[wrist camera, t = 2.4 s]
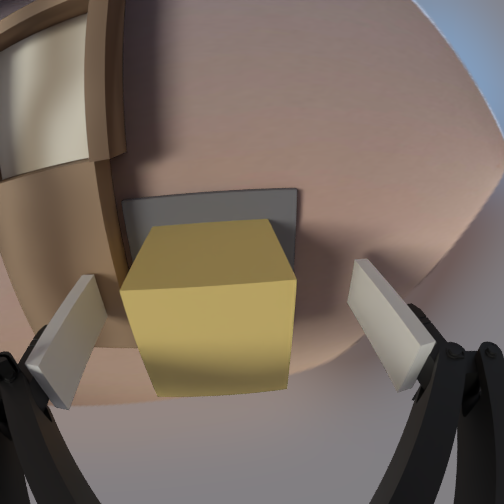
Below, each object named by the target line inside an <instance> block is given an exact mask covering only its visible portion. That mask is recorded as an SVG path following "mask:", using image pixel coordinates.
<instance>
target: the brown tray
mask: <svg viewBox="0 0 504 504" xmlns="http://www.w3.org/2000/svg"><path fill="white" fill-rule="evenodd" d="M125 1H126V0H36V1H34V2H32V3H30V4H28V5H26V6H24V7H23V8H21V9H19V10H17V11H15V12H14V13H12V14H10V15H9V16H7V17H5V18H4V19H2V20H0V253H1V256H2V259H3V262H4V265H5V267H6V270H7V273H8V276H9V278H10V281H11V283H12V286H13V288H14V291H15V293H16V296H17V298H18V300H19V303H20V305H21V307H22V309H23V311H24V314H25V316H26V318H27V320H28V322H29V324H30V326H31V328H32V330H33V332H34V334H35V335H36V334H37V332H38V331H39V330H40V329H41V328H42V327H43V326H44V325H48V324H49V322H50V321H51V319H52V318H53V316H54V315H55V313H56V312H57V310H58V309H59V307H60V306H61V304H62V303H63V301H64V300H65V298H66V297H67V295H68V294H69V293H70V291H71V290H72V288H73V287H74V286H75V284H76V283H77V281H78V280H79V279H80V277H81V276H82V275H93V274H94V276H95V279H96V283H97V286H98V289H99V292H100V295H101V298H102V301H103V304H104V307H105V310H106V313H107V316H108V317H107V319H106V321H105V323H104V325H103V328H102V330H101V332H100V334H99V336H98V339H97V341H96V343H95V345H94V347H104V348H138V346H137V344H136V341H135V338H134V335H133V332H132V329H131V326H130V323H129V320H128V317H127V314H126V311H125V308H124V305H123V301H122V298H121V295H120V289H121V286H122V284H123V282H124V280H125V278H126V276H127V274H128V272H129V268H128V263H127V259H126V255H125V250H124V245H123V241H122V236H121V231H120V225H119V220H118V214H117V208H116V202H115V196H114V189H113V182H112V175H111V167H110V158H113V157H115V156H118V155H120V154H122V153H125V152H127V149H126V138H125V124H124V107H123V29H124V13H125ZM85 158H88V159H85ZM80 159H83V160H80ZM75 160H78V161H75ZM71 161H74V162H71ZM66 162H69V163H66ZM62 163H65V164H62ZM57 164H60V165H57ZM53 165H56V166H53ZM49 166H52V167H49ZM45 167H48V168H45ZM41 168H44V169H41ZM37 169H40V170H37ZM34 170H36V171H34ZM30 171H32V172H30ZM26 172H28V173H26ZM23 173H25V174H23ZM19 174H21V175H19ZM16 175H18V176H16ZM12 176H14V177H12ZM9 177H11V178H9ZM6 178H8V179H6ZM3 179H5V180H3Z"/></svg>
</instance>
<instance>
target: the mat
mask: <svg viewBox="0 0 504 504" xmlns="http://www.w3.org/2000/svg"><path fill="white" fill-rule="evenodd" d="M296 208H297V189H296V188H272V189H248V190H229V191H213V192H199V193H186V194H174V195H164V196H153V197H144V198H135V199H126V200H123V201H122V209H123V215H124V220H125V226H126V231H127V237H128V242H129V247H130V251H131V256H132V261H133V262H134V260H135V258H136V256H137V255H138V253H139V251H140V249H141V247H142V245H143V243H144V241H145V239H146V238H147V236H148V234H149V232H150V230H151V228H152V227H154V226H166V225H179V224H192V223H206V222H221V221H237V220H254V219H268V220H269V222H270V224H271V226H272V228H273V230H274V232H275V234H276V236H277V239H278V241H279V243H280V245H281V247H282V249H283V251H284V253H285V255H286V257H287V260H288V262H289V264H290V266H291V268H292V270H293V272H294V256H295V235H296Z"/></svg>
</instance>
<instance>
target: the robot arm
mask: <svg viewBox="0 0 504 504" xmlns="http://www.w3.org/2000/svg"><path fill="white" fill-rule="evenodd" d="M347 303H348V305H349V307H350V308H351V310H352V312H353V313H354V315H355V317H356V318H357V320H358V322H359V324H360V325H361V327H362V329H363V331H364V332H365V334H366V336H367V338H368V339H369V341H370V343H371V345H372V346H373V348H374V350H375V352H376V353H377V355H378V357H379V359H380V361H381V362H382V364H383V366H384V368H385V370H386V372H387V374H388V375H389V377H390V379H391V381H392V383H393V385H394V387H395V389H396V391H397V392H401V391H404V390H407V389H410V388H412V387H413V385H414V383H415V381H416V380H417V379H418V381H419V383H420V384H421V385H420V387H419V389H418V391H417V392H416V394H415V395H414V397H413V399H412V400H415V401H414V404H413V407H412V410H411V413H410V416H409V419H408V421H407V424H406V426H405V429H404V432H403V434H402V437H401V439H400V442H399V444H398V446H397V449H396V451H395V454H394V456H393V458H392V460H391V462H390V464H389V466H388V469H387V471H386V473H385V475H384V477H383V479H382V481H381V483H380V485H379V487H378V489H377V490H376V492H375V494H374V496H373V498H372V500H371V502H370V503H369V504H434V502H435V499H436V496H437V494H438V491H439V488H440V485H441V483H442V480H443V477H444V474H445V471H446V467H447V464H448V461H449V457H450V454H451V450H452V446H453V442H454V438H455V434H456V429H457V442H458V443H457V444H458V446H457V448H458V450H457V474H456V487H455V497H454V504H504V357H503V354H502V351H501V350H500V348H499V347H498V346H497V345H496V344H494V343H492V342H483V343H482V344H481V345H480V347H479V349H478V351H465V350H464V348H462V346H460V345H459V344H457V343H453V342H447V341H446V340H445V339H444V338H443V336H442V335H441V334H440V333H439V331H438V330H437V329H436V328H435V326H434V325H433V324H432V323H431V321H430V320H429V319H428V318H426V315H425V314H424V313H423V312H422V311H421V309H419V308H418V307H416V306H415V305H413V304H406V303H405V302H404V301H403V299H402V298H401V297H400V296H399V295H398V293H397V292H396V291H395V290H394V289H393V287H392V286H391V285H390V284H389V283H388V282H387V280H386V279H385V278H384V277H383V276H382V275H381V273H380V272H379V271H378V270H377V269H376V268H375V267H374V265H373V264H372V263H371V262H370V261H369V260H368V259H355V260H354V267H353V273H352V279H351V284H350V290H349V295H348V301H347ZM107 317H108V316H107V313H106V310H105V307H104V304H103V301H102V298H101V295H100V292H99V289H98V286H97V283H96V279H95V276H94V274H93V275H82V276H81V277H80V279H79V280H78V281H77V283H76V284H75V286H74V287H73V288H72V290H71V291H70V293H69V294H68V295H67V297H66V298H65V300H64V301H63V303H62V304H61V306H60V307H59V309H58V310H57V312H56V313H55V315H54V316H53V318H52V319H51V321H50V322H49V324H48V325H44V326H43V327H42V328H41V329H40V330H39V331H38V332H37V334H36V335H35V337H34V338H33V340H32V342H31V343H30V346H28V348H27V350H26V351H25V353H24V355H23V356H22V358H21V360H20V362H19V363H18V364H17V363H16V361H15V359H14V358H13V356H12V355H11V353H9V352H1V353H0V504H30V500H29V496H28V492H27V487H26V482H25V477H26V479H27V482H28V484H29V486H30V489H31V491H32V493H33V495H34V497H35V500H36V502H37V504H101V503H100V502H99V500H98V499H97V497H96V496H95V494H94V493H93V491H92V490H91V488H90V486H89V485H88V483H87V481H86V480H85V478H84V476H83V475H82V473H81V471H80V470H79V468H78V466H77V465H76V463H75V461H74V459H73V457H72V455H71V453H70V451H69V449H68V447H67V445H66V444H65V441H64V439H63V437H62V435H61V433H60V431H59V429H58V427H57V424H56V422H55V420H54V417H53V415H52V413H51V411H50V409H49V407H48V406H47V404H48V401H49V399H50V401H51V402H52V403H53V405H54V406H55V407H57V408H61V409H66V410H69V409H70V406H71V403H72V401H73V398H74V395H75V392H76V390H77V387H78V384H79V382H80V379H81V377H82V374H83V372H84V369H85V367H86V364H87V362H88V360H89V357H90V355H91V352H92V350H93V348H94V345H95V343H96V341H97V339H98V336H99V334H100V332H101V330H102V328H103V325H104V323H105V321H106V319H107ZM24 474H25V476H24Z"/></svg>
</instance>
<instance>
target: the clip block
mask: <svg viewBox="0 0 504 504" xmlns="http://www.w3.org/2000/svg"><path fill="white" fill-rule="evenodd" d="M296 284H297V279H296V277H295V275H294V272H293V270H292V268H291V266H290V264H289V262H288V260H287V257H286V255H285V253H284V251H283V249H282V247H281V245H280V243H279V241H278V239H277V236H276V234H275V232H274V230H273V228H272V226H271V224H270V222H269V220H268V219H254V220H237V221H221V222H206V223H192V224H179V225H166V226H154V227H152V228H151V230H150V232H149V234H148V236H147V238H146V239H145V241H144V243H143V245H142V247H141V249H140V251H139V253H138V255H137V256H136V258H135V260H134V262H133V264H132V266H131V268H130V270H129V272H128V274H127V276H126V278H125V280H124V282H123V284H122V286H121V289H120V295H121V298H122V301H123V305H124V308H125V311H126V314H127V317H128V320H129V323H130V326H131V329H132V332H133V335H134V338H135V341H136V344H137V346H138V349H139V352H140V354H141V357H142V360H143V362H144V365H145V367H146V370H147V372H148V375H149V377H150V380H151V382H152V384H153V387H154V389H155V391H156V394H157V396H158V397H196V396H220V395H235V394H247V393H257V392H266V391H275V390H283V389H287V384H288V374H289V365H290V355H291V345H292V334H293V323H294V311H295V298H296Z"/></svg>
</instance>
